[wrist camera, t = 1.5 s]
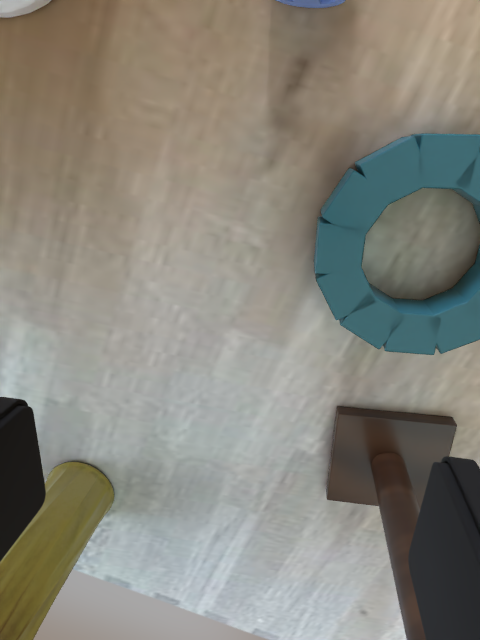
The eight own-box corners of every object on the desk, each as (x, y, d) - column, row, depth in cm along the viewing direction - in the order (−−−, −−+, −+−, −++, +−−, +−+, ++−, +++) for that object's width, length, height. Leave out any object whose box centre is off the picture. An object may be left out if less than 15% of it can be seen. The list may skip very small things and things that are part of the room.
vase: (127, 486, 37) (29, 676, 24) (95, 524, 39) (-10, 715, 26) (67, 448, 36) (-68, 621, 23) (38, 488, 38) (-99, 667, 25)
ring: (325, 132, 24) (327, 131, 22) (556, 137, 23) (586, 136, 20) (307, 328, 29) (307, 345, 26) (498, 343, 27) (517, 362, 25)
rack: (337, 406, 31) (363, 616, 17) (452, 417, 30) (579, 649, 16) (326, 490, 34) (341, 726, 20) (430, 502, 33) (521, 759, 19)
